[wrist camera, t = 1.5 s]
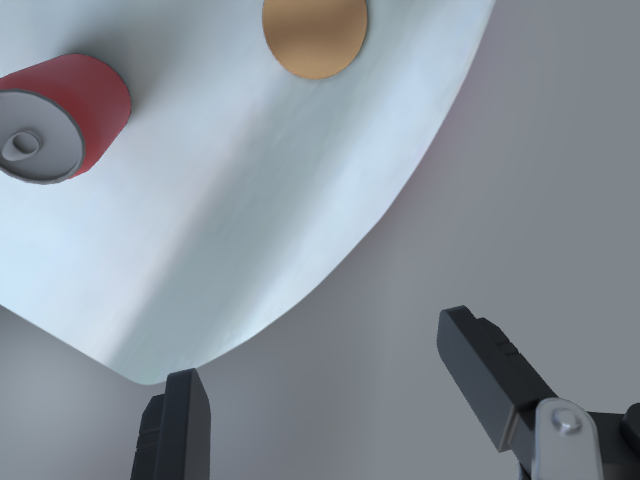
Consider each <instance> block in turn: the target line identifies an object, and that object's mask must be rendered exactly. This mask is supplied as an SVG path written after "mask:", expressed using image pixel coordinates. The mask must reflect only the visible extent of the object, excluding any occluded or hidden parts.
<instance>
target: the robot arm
mask: <svg viewBox="0 0 640 480" xmlns="http://www.w3.org/2000/svg"><path fill="white" fill-rule="evenodd" d="M437 348H438V352H439V354H440V357H441V359H442V361H443V362H444V364H445V366H446V367H447V369H448V370H449V372H450V374H451V375H452V377H453V379H454V380H455V382H456V384H457V385H458V387H459V388H460V390H461V392H462V393H463V395H464V397H465V398H466V400H467V401H468V403H469V405H470V406H471V408H472V410H473V411H474V413H475V415H476V416H477V418H478V419H479V421H480V422H481V424H482V426H483V428H484V429H485V431H486V432H487V434H488V436H489V437H490V439H491V441H492V442H493V444H494V445H495V447H496V449H497V450H498V452H499V453H500V452H504V451H507V450H511V449H512V451H513V452H514V454H515V455H516V457H517V463H516V480H640V403H636V404H633V405H632V406H630V407H629V409H628V410H627V412H626V413H625V414H614V413H597V412H588V411H585V410H584V409H583V408H581V407H580V406H579V405H577V404H575V403H573V402H571V401H569V400H566V399H562V398H559V397H558V396H557V395H556V394H555V393H554V392H553V391H552V390H551V389H550V387H549V386H548V385H547V384H546V383H545V381H544V380H543V379H542V378H541V377H540V375H539V374H538V373H537V372H536V371H535V370H534V368H533V367H532V366H531V365H530V364H529V363H528V361H527V360H526V359H525V358H524V357H523V355H522V354H521V353H519V352H518V350H517V348H516V347H515V346H514V345H513V344H512V343H510V341H509V339H508V338H507V336H506V335H505V334H504V333H503V332H502V331H501V329H500V328H499V327H497V326H496V325H494V324H493V323H491V322H490V321H488V320H487V319H485V318H479V319H476V318H475V317H474V315H473V314H472V313H471V312H470V310H469V309H468V308H467V307H465V306H463V305H462V306H458V307H454V308H450V309H446V310H442V311H441V312H440V317H439V325H438V334H437ZM210 428H211V413H210V405H209V400H208V397H207V394H206V392H205V390H204V387H203V385H202V382H201V380H200V378H199V375H198V373H197V371H196V369H195V368H191V369H187V370H183V371H179V372H174V373H170V374H169V375H168V377H167V382H166V390H165V394H161V395H157V396H153V397H152V399H151V400H150V402H149V404H148V406H147V407H146V409H145V411H144V413H143V415H142V420H141V425H140V430H139V434H140V435H139V437H138V441H137V446H136V448H137V451H136V452H135V458H134V463H133V468H132V474H131V479H130V480H209V477H210V472H209V471H210Z"/></svg>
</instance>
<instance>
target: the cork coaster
mask: <svg viewBox="0 0 640 480" xmlns="http://www.w3.org/2000/svg"><path fill="white" fill-rule="evenodd" d="M262 23H263V31H264V35H265V39H266V42H267V44H268V47H269V49H270V50H271V52H272V54H273V56H274V57H275V58H276V60H277V61H278V62H279V63H280V64H281V65H282V66H283V67H284V68H285V69H287V70H288V71H290V72H291V73H293V74H295V75H297V76H299V77H303V78H307V79H323V78H327V77H330V76H333V75H335V74H337V73H339V72H340V71H342V70H343V69H344V68H345V67H347V66H348V65H349V64H350V63H351V62H352V60H353V59H354V58H355V56H356V55H357V53H358V52H359V50H360V48H361V46H362V43H363V41H364V37H365V34H366V28H367V7H366V1H365V0H264V4H263V12H262Z"/></svg>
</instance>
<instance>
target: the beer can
mask: <svg viewBox="0 0 640 480" xmlns="http://www.w3.org/2000/svg"><path fill="white" fill-rule="evenodd" d="M130 114H131V99H130V95H129V92H128V89H127V87H126V85H125V84H124V82H123V80H122V79H121V77H120V76H119V75H118V74H117V73H116V72H115V71H114V70H113V69H112V68H111V67H110V66H109V65H107V64H105V63H104V62H102V61H100V60H98V59H96V58H94V57H91V56H86V55H82V54H67V55H62V56H59V57H56V58H54V59H51V60H48V61H45V62H42V63H39V64H37V65H34V66H31V67H28V68H25V69H22V70H20V71H17V72H14V73H11V74H9V75H7V76H4V77H2V78H0V170H1V171H2V172H4V173H5V174H7V175H8V176H10V177H13V178H16V179H18V180H21V181H24V182H26V183H33V184H41V185H46V184H54V183H60V182H62V181H64V180H66V179H71V178H73V177H75V176H77V175H80V174H82V173H84V172H86V171H88V170H89V169H90V168H91V167H92V166H93V165H94V164H95V163H96V162H97V161H98V160H99V159H100V158H101V156H102V155H103V154H104V152H105V151H106V150H107V148H108V147H109V146H110V145H111V143H112V142H113V141H114V139H115V138H116V137H117V135H118V134H119V133H120V131H121V130H122V129H123V128H124V126H125V125H126V124H127V121H128V119H129V116H130Z"/></svg>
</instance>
